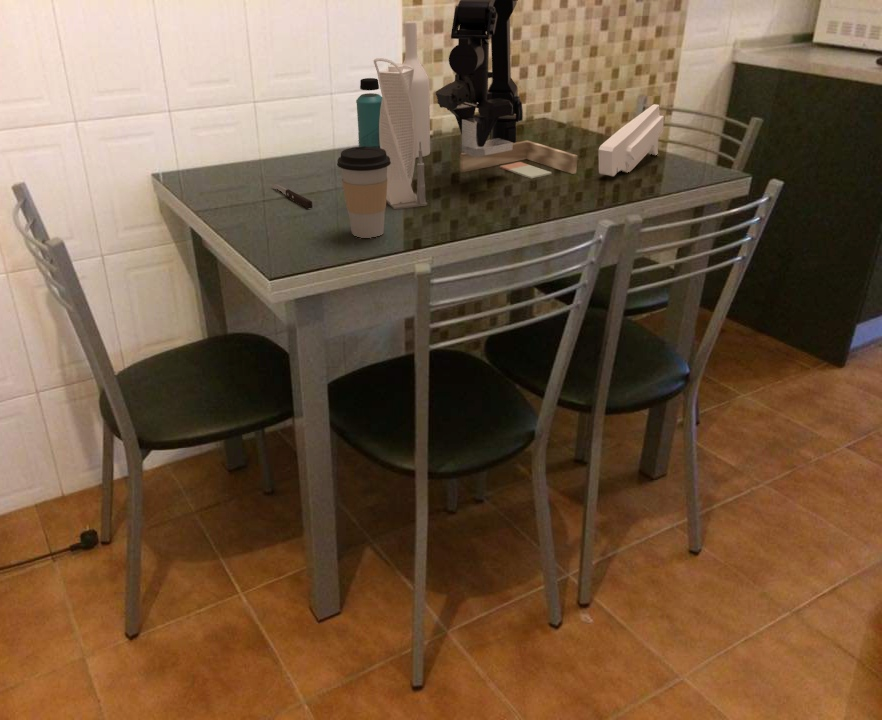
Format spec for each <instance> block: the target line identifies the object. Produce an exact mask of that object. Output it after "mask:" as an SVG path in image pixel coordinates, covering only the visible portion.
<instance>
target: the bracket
mask: <svg viewBox="0 0 882 720" xmlns="http://www.w3.org/2000/svg"><path fill="white" fill-rule="evenodd" d="M510 150H513V142H510V141H506V140H503V139H500V138H496V139H491V140H490V139H487V140H486V143H485V145H484V146H483V147H479V144H478V132H477V122H476V120H475V119H474V118H466V119H462V135H461V153H465V154H468V155H471V156H474V157H479V156H485V155H490V154H495V153H500V152H505V151H510Z"/></svg>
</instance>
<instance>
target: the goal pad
mask: <svg viewBox="0 0 882 720" xmlns="http://www.w3.org/2000/svg"><path fill="white" fill-rule="evenodd" d="M499 168H500V169H502V170H506V171H508V172H512V173H514V174H516V175H519V176H523V177H524V178H528V179H535V178H540V177H541V178H542V177H545V176H549V175H552V171H549V170H545V169H542V168H539V167H537V166H533V165H531V164H527V163H526V162H522V161H516V162H511V163H506V164H501V165H500V166H499Z"/></svg>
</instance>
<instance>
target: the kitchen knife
mask: <svg viewBox="0 0 882 720" xmlns="http://www.w3.org/2000/svg"><path fill="white" fill-rule="evenodd" d="M272 186H273V187H275V188H277V189H278V190H280V191H282V192H283V193H285V194H286V195H285V196H286V197H287V198H288V197H289V198H288V199H290V198H291V199H292V200H294V201H296V202H297V203H296V202H295V203H296V204H298V203H299V204H301V205H300V206H302V205H303V206H302V207H304V206H305V207H304V208H306V207H307V208H312V209H313V201H312V200H310V199H309V198H306V197H304V196H302V195H300V194H299V193H296V192H295V191H293V190H290V189H288V188H287V189H286V188H285V187H283V186H281V185H279V184H271V187H272ZM273 187H272V188H273ZM291 199H290V200H291ZM292 200H291V201H292ZM294 201H293V202H294ZM299 204H298V205H299ZM307 208H306V209H307Z"/></svg>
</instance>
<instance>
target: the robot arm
mask: <svg viewBox="0 0 882 720" xmlns="http://www.w3.org/2000/svg"><path fill="white" fill-rule="evenodd" d="M517 2H518V0H459V2H458V4H457V5H456V6H455V9H454V13H453V18H452V27H451V34H450V39H451V40H457V41H458V43H457V45H455V46H453V48H452V49H451V51H450V52H449V56H448V63H449V66H450V68H451V70H452V71H453V72H454V73H455V75H454V81H452V82H449V83H447V84H446V85H444V86H442V87H441V88H439V89H437V90H436V91H435V95H436V98H437V104H438V106H439V108H444V109H446V110H447V111H449V112H450V113H451V114H452V115H454V117H455V119H456V122H457V125H458V128H459V131H460V135H461V136H462V119H466V118H474V119H475V120H476V122H477V132H478V144H479V147H483V146H484V145H485V143H486V140H488V139H489V140H491V139H496V138H500V139H503V140H506V141H510V142H513V143H517V142H518V141H517V123H519V122H521V121H523V117H524V112H523V111H524V110H523V102H522V101H521V96H519V95H518V94H519V93H518V91H519V90H518V86H517V84H516V82H515V81H514V80H513V79H512V75H511V74H512V69H511V67H512V66H511V19H510V18H511V16H512V15H513V13H514V10H515V8H516V6H517ZM489 40H490V41H489ZM489 42H490V43H489ZM490 45H491V49H489V48H490ZM490 50H491V71H489V64H490V63H489V59H490V57H489V55H490ZM489 79H492V81H491V83H490V85H489ZM476 110H477V111H478V113H476ZM489 136H490V137H489Z"/></svg>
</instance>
